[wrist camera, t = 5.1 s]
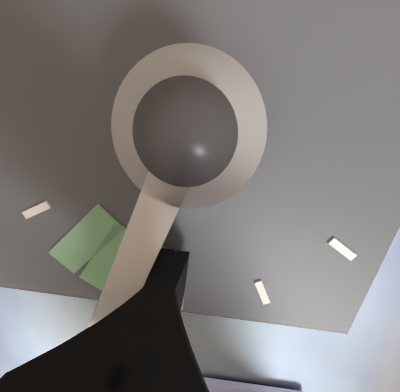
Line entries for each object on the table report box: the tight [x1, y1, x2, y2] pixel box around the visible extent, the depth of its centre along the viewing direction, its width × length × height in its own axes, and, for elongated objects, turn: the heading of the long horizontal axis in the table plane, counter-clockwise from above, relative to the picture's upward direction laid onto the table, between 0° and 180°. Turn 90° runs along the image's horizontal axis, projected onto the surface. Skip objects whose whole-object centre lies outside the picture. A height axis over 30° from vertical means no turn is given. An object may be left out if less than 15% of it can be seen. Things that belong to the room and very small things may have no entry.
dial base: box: [0, 0, 400, 334], centre depth 9 cm, size 18×22×1 cm
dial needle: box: [88, 43, 267, 328], centre depth 7 cm, size 13×4×4 cm, turn 155°
